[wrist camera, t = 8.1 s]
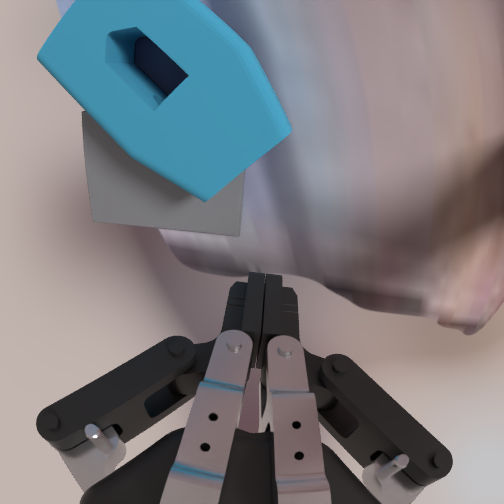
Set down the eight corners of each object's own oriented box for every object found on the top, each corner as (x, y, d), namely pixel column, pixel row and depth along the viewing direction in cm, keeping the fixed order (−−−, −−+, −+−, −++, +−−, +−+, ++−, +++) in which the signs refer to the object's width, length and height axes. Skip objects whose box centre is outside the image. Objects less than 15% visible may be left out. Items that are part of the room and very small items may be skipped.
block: (186, 219, 23) (33, 61, 16) (201, 195, 27) (66, 59, 20) (313, 116, 18) (126, -53, 11) (306, 110, 22) (150, -36, 15)
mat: (250, 110, 23) (250, 111, 23) (239, 234, 30) (239, 236, 29) (84, 110, 23) (81, 111, 23) (95, 219, 30) (93, 221, 29)
